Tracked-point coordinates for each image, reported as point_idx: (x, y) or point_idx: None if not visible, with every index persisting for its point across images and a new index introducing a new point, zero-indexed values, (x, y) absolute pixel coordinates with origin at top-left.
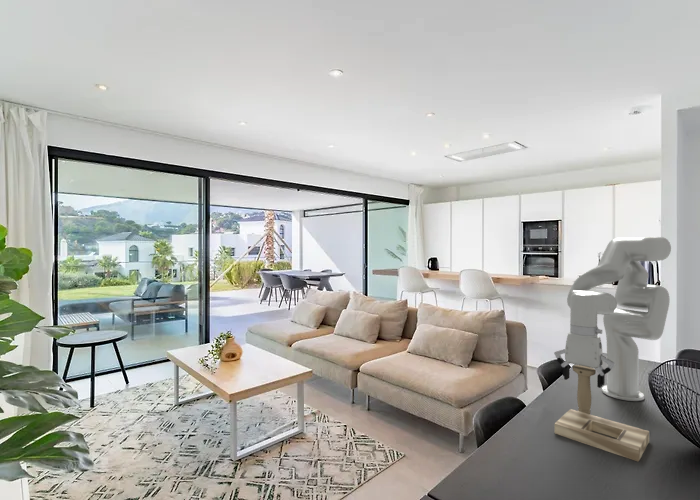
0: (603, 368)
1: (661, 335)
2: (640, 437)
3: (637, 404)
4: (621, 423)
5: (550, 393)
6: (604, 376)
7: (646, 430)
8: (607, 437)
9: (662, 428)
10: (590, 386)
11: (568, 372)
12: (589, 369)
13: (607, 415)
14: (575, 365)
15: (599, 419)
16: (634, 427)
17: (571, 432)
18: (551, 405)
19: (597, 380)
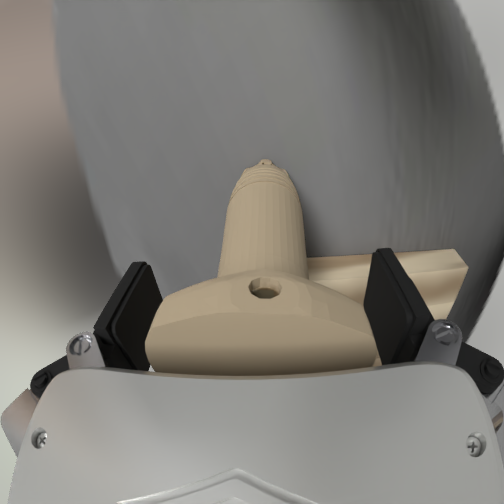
0: (455, 364)
1: None
2: (441, 315)
3: None
4: (412, 273)
5: (74, 91)
6: (431, 320)
7: (464, 268)
8: (375, 360)
9: (487, 124)
10: (304, 244)
11: (140, 314)
12: (318, 371)
13: (343, 127)
14: (150, 346)
15: (352, 294)
16: (441, 273)
17: None
18: (144, 205)
19: (375, 340)
